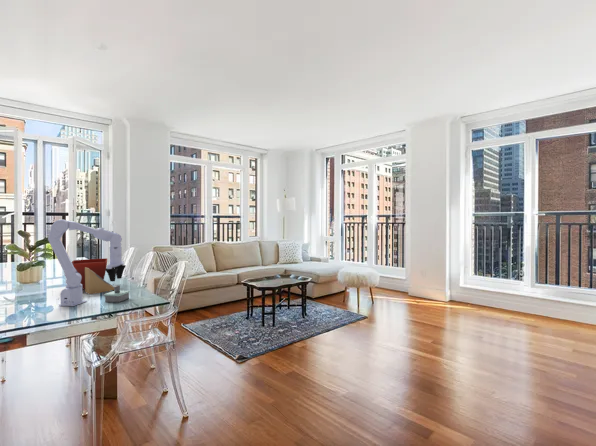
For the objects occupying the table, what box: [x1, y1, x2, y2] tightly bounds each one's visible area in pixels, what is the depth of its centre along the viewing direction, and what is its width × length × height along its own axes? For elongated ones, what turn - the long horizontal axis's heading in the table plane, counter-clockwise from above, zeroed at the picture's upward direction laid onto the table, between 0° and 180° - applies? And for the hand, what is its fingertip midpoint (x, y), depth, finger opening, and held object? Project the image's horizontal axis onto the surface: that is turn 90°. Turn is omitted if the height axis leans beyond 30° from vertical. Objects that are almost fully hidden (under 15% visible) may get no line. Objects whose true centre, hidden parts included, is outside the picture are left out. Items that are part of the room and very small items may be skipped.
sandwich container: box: [84, 267, 114, 295], centre depth 200 cm, size 9×15×15 cm, turn 137°
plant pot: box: [71, 258, 108, 290], centre depth 209 cm, size 19×19×17 cm
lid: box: [103, 284, 131, 297], centre depth 178 cm, size 9×9×5 cm
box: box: [104, 292, 130, 304], centre depth 178 cm, size 8×8×4 cm
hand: (116, 279), depth 181 cm, fingers open, 7 cm apart
